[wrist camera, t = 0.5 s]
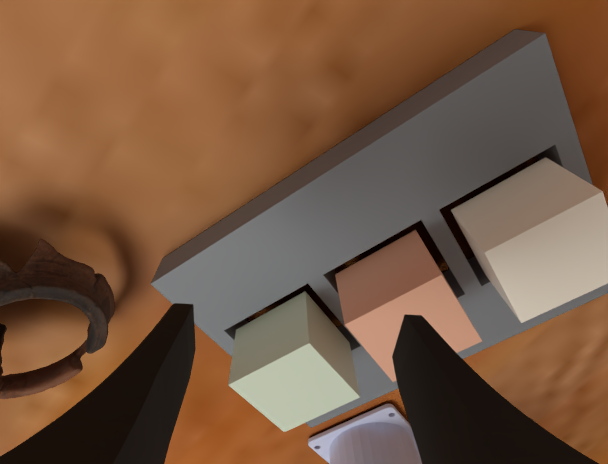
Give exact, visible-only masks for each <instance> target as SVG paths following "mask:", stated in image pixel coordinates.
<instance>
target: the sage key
mask: <svg viewBox="0 0 608 464" xmlns="http://www.w3.org/2000/svg"><path fill="white" fill-rule="evenodd" d="M228 385H229V386H230V387H231V388H232V389H234V390H235V391H236V392H237V393H238V394H240V395H241V396H242V397H243V398H244V399H245V400H247V401H248V402H249V403H250V404H251V405H253V406H254V407H255V408H256V409H257V410H259V411H260V412H261V413H262V414H263V415H264V416H266V417H267V418H268V419H269V420H270V421H272V422H273V423H274V424H275V425H276V426H278V427H279V428H280V429H281V430H282V431H283V432H286V431H288V430H290V429H292V428H294V427H297V426H299V425H301V424H303V423H305V422H308V421H310V420H312V419H314V418H316V417H318V416H321V415H323V414H325V413H327V412H329V411H331V410H334V409H336V408H338V407H340V406H342V405H345V404H347V403H349V402H351V401H353V400H355V399H358V398H360V394H359V389H358V383H357V378H356V373H355V368H354V363H353V358H352V353H351V348H350V342H349V341H348V340H347V339H346V338H345V337H344V335H343V334H342V333H341V332H340V331H339V330H338V328H337V327H336V326H335V325H334V324H333V323H332V322H331V320H330V319H329V318H328V317H327V316H326V315H325V313H324V312H323V311H322V310H321V309H320V308H319V306H318V305H317V304H316V303H315V302H314V301H313V300H312V298H311V297H310V296H309V295H308V294H307V293H306V291H305V292H303V293H301V294H299V295H297V296H296V297H294V298H292V299H290V300H288V301H287V302H285V303H283V304H281V305H279V306H278V307H276V308H274V309H272V310H270V311H269V312H267V313H265V314H263V315H261V316H260V317H258V318H256V319H254V320H252V321H251V322H249V323H247V324H245V325H244V326H242V327H240V328H238V329H236V334H235V341H234V348H233V355H232V362H231V369H230V376H229V383H228Z"/></svg>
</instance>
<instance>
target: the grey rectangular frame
mask: <svg viewBox="0 0 608 464" xmlns="http://www.w3.org/2000/svg"><path fill="white" fill-rule="evenodd" d="M536 155H537V157H538V159H539V161H540V160H541V159H543V158H545V157H546V158H548V159H550V160H551V161H553V162H555V163H556V164H558V165H560V166H561V167H563V168H565V169H566V170H568V171H570V172H571V173H573V174H575V175H576V176H578V177H580V178H581V179H583V180H585V181H586V182H588V183H590V184H591V185H593V184H592V180H591V177H590V174H589V171H588V168H587V164H586V161H585V158H584V155H583V152H582V148H581V145H580V142H579V139H578V136H577V132H576V129H575V126H574V123H573V120H572V116H571V113H570V110H569V107H568V104H567V100H566V97H565V94H564V91H563V88H562V84H561V81H560V78H559V75H558V72H557V68H556V65H555V62H554V59H553V56H552V52H551V49H550V46H549V43H548V40H547V36H546V33H541V32H533V31H525V30H517V29H514V30H513V31H511V32H510V33H508V34H507V35H505V36H504V37H502V38H501V39H499V40H498V41H496V42H494V43H493V44H491V45H490V46H488V47H487V48H485V49H484V50H482V51H481V52H479V53H478V54H476V55H474V56H473V57H471V58H470V59H468V60H467V61H465V62H464V63H462V64H461V65H459V66H458V67H456V68H454V69H453V70H451V71H450V72H448V73H447V74H445V75H444V76H442V77H441V78H439V79H438V80H436V81H434V82H433V83H431V84H430V85H428V86H427V87H425V88H424V89H422V90H421V91H419V92H418V93H416V94H414V95H413V96H411V97H410V98H408V99H407V100H405V101H404V102H402V103H401V104H399V105H398V106H396V107H395V108H393V109H391V110H390V111H388V112H387V113H385V114H384V115H382V116H381V117H379V118H378V119H376V120H375V121H373V122H371V123H370V124H368V125H367V126H365V127H364V128H362V129H361V130H359V131H358V132H356V133H355V134H353V135H351V136H350V137H348V138H347V139H345V140H344V141H342V142H341V143H339V144H338V145H336V146H335V147H333V148H331V149H330V150H328V151H327V152H325V153H324V154H322V155H321V156H319V157H318V158H316V159H315V160H313V161H311V162H310V163H308V164H307V165H305V166H304V167H302V168H301V169H299V170H298V171H296V172H295V173H293V174H291V175H290V176H288V177H287V178H285V179H284V180H282V181H281V182H279V183H278V184H276V185H275V186H273V187H271V188H270V189H268V190H267V191H265V192H264V193H262V194H261V195H259V196H258V197H256V198H255V199H253V200H251V201H250V202H248V203H247V204H245V205H244V206H242V207H241V208H239V209H238V210H236V211H235V212H233V213H232V214H230V215H228V216H227V217H225V218H224V219H222V220H221V221H219V222H218V223H216V224H215V225H213V226H212V227H210V228H208V229H207V230H205V231H204V232H202V233H201V234H199V235H198V236H196V237H195V238H193V239H192V240H190V241H188V242H187V243H185V244H184V245H182V246H181V247H179V248H178V249H176V250H175V251H173V252H172V253H170V254H168V255H167V256H165V257H164V258H162V261H161V263H160V265H159V267H158V269H157V271H156V273H155V276H154V278H153V280H152V282H151V285H152V286H153V287H155V288H156V289H157V290H158V291H159V292H160V293H161V294H162V295H163V296H165V297H166V298H167V299H168V300H169V301H170V302H171V303H172V304H174V303H181V304H193V306H194V323H195V324H196V325H197V326H198V327H199V328H200V329H201V330H202V331H204V332H205V333H206V334H207V335H208V336H209V337H210V338H211V339H213V340H214V341H215V342H216V343H217V344H218V345H219V346H220V347H221V348H223V349H224V350H225V351H226V352H227V353H228V354H229V355H230V356H232V355H233V348H234V341H235V334H236V329H238V328H240V327H242V326H244V325H245V324H247V323H248V322H247V321H246V320H245V319H246V318H247V317H249V316H251V315H253V314H254V313H256V312H258V311H260V310H262V309H263V308H265V307H267V306H269V305H270V304H272V303H274V302H276V301H278V300H279V299H281V298H283V297H285V296H286V295H288V294H290V293H292V292H294V291H295V290H297V289H299V288H301V287H302V286H304V285H306V284H309V285H310V287H311V288H312V289H313V290H314V291H315V292H316V294H317V295H318V296H319V297H320V298H321V299H322V301H323V302H324V303H325V304H326V305H327V307H328V308H329V309H330V310H331V311H332V312H333V314H334V315H335V316H336V317H337V318H338V320H339V321H340V322H341V323H342V324H343V325H341V326H339V327H337V328H338V330H339V331H340V332H341V333H342V334H343V335H344V337H345V338H346V339H347V340H348V341H349V342H350V348H351V353H352V358H353V363H354V368H355V373H356V378H357V383H358V389H359V394H360V398H358V399H355V400H353V401H351V402H349V403H347V404H345V405H342V406H340V407H338V408H336V409H334V410H331V411H329V412H327V413H325V414H323V415H321V416H318V417H316V418H314V419H312V420H310V421H308V422H305V423H306V424H307V425H309V426H310V427H311V428H312V427H314V426H316V425H318V424H320V423H323V422H325V421H327V420H329V419H331V418H334V417H336V416H338V415H340V414H342V413H345V412H347V411H349V410H351V409H354V408H356V407H358V406H360V405H362V404H365V403H367V402H369V401H371V400H373V399H376V398H378V397H380V396H382V395H384V394H387V393H389V392H391V391H393V390H395V389H398V385H397V381H395V382H392V380H391V379H390V378H389V377H388V376H387V374H386V373H385V372H384V371H383V370H382V369H381V367H380V366H379V365H378V364H377V363H376V361H375V360H374V359H373V358H372V357H371V355H370V354H369V353H368V352H367V351H366V350H365V348H364V347H363V346H362V345H361V344H360V342H359V341H358V340H357V339H356V338H355V337H354V335H353V334H352V333H351V332H350V331H349V329H348V328H347V327H346V326H345V324H344V319H343V314H342V309H341V303H340V298H339V293H338V288H337V282H336V277H335V274H337V272H336V271H335V270H334V269H335V268H336V267H338V266H340V265H342V264H343V263H345V262H347V261H349V260H351V259H352V258H354V257H356V256H358V255H359V254H361V253H363V252H365V251H367V250H368V249H370V248H372V247H374V246H375V245H377V244H379V243H381V242H383V241H384V240H386V239H388V238H390V237H391V236H393V235H395V234H397V233H399V232H400V231H402V230H404V229H406V228H408V227H409V226H411V225H413V224H415V223H416V222H418V221H420V220H421V222H422V223H423V225H424V227H425V228H426V230H427V232H428V233H429V235H430V237H431V238H432V240H433V242H434V243H435V245H436V247H437V249H438V250H439V252H440V254H441V255H442V257H443V259H444V260H445V262H446V264H447V265H448V267H449V270H447V271H445V272H443V273H442V274H443V275H444V277H445V279H446V280H447V282H448V284H449V285H450V287H451V289H452V290H453V292H454V294H455V295H456V297H457V299H458V300H459V302H460V304H461V306H462V307H463V309H464V311H465V312H466V314H467V316H468V317H469V319H470V321H471V323H472V324H473V326H474V328H475V329H476V331H477V333H478V335H479V336H480V338H481V340H482V342H479V343H477V344H475V345H473V346H471V347H469V348H466V349H464V350H462V351H460V352H458V353H457V354H458V355H459V356H460V357H461V358H462V359H464V358H466V357H468V356H470V355H472V354H475V353H477V352H479V351H481V350H484V349H486V348H488V347H490V346H492V345H495V344H497V343H499V342H501V341H503V340H506V339H508V338H510V337H512V336H514V335H517V334H519V333H521V332H523V331H525V330H528V329H530V328H532V327H534V326H536V325H539V324H541V323H543V322H545V321H547V320H550V319H552V318H554V317H556V316H558V315H561V314H563V313H565V312H567V311H569V310H572V309H574V308H576V307H578V306H580V305H583V304H585V303H587V302H589V301H591V300H594V299H596V298H598V297H600V296H602V295H605V294H607V293H608V284H606V285H603V286H601V287H599V288H597V289H595V290H593V291H590V292H588V293H586V294H584V295H582V296H579V297H577V298H575V299H573V300H571V301H569V302H566V303H564V304H562V305H560V306H558V307H556V308H553V309H551V310H549V311H547V312H545V313H542V314H540V315H538V316H536V317H534V318H532V319H529V320H527V321H525V322H523V323H521V322H520V321H519V320H518V318H517V317H516V315H515V314H514V313H513V311H512V310H511V309H510V307H509V306H508V305H507V303H506V302H505V301H504V299H503V298H502V297H501V295H500V294H499V292H498V291H497V290H496V288H495V287H494V286H493V284H492V283H491V282H490V280H489V279H488V278H487V276H486V275H485V273H484V271H483V269H482V268H481V266H480V264H479V262H478V260H477V258H476V257H475V256H474V257H472V258H470V259H468V260H467V259H466V257H465V256H464V254H463V252H462V250H461V248H460V247H459V245H458V243H457V241H456V239H455V238H454V236H453V234H452V232H451V230H450V229H449V227H448V225H447V223H446V221H445V220H444V218H443V216H442V214H441V212H440V211H439V210H440V209H441V208H443V207H445V206H447V205H448V204H450V203H452V202H454V201H456V200H457V199H459V198H461V197H463V196H464V195H466V194H468V193H470V192H472V191H473V190H475V189H477V188H479V187H481V186H482V185H484V184H486V183H488V182H489V181H491V180H493V179H495V178H497V177H498V176H500V175H502V174H504V173H505V172H507V171H509V170H511V169H513V168H514V167H516V166H518V165H520V164H521V163H523V162H525V161H527V160H529V159H530V158H532V157H534V156H536Z"/></svg>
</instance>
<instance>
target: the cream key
mask: <svg viewBox="0 0 608 464" xmlns="http://www.w3.org/2000/svg"><path fill="white" fill-rule="evenodd" d="M451 212H452V214H453V216H454V218H455V219H456V221H457V223H458V225H459V227H460V229H461V231H462V232H463V234H464V236H465V238H466V240H467V242H468V244H469V245H470V247H471V249H472V251H473V253H474V255H475V257H476V258H477V260H478V262H479V264H480V266H481V268H482V269H483V271H484V273H485V275H486V276H487V278H488V279H489V280H490V282H491V283H492V284H493V286H494V287H495V288H496V290H497V291H498V292H499V294H500V295H501V297H502V298H503V299H504V301H505V302H506V303H507V305H508V306H509V307H510V309H511V310H512V311H513V313H514V314H515V315H516V317H517V318H518V320H519V321H520V322H521V323H523V322H525V321H527V320H529V319H532V318H534V317H536V316H538V315H540V314H542V313H545V312H547V311H549V310H551V309H553V308H556V307H558V306H560V305H562V304H564V303H566V302H569V301H571V300H573V299H575V298H577V297H579V296H582V295H584V294H586V293H588V292H590V291H593V290H595V289H597V288H599V287H601V286H603V285H606V284H608V207H607V203H606V200H605V197H604V194H603V191H601V190H600V189H598V188H596V187H595V186H593V185H591V184H590V183H588V182H586V181H585V180H583V179H581V178H580V177H578V176H576V175H575V174H573V173H571V172H570V171H568V170H566V169H565V168H563V167H561V166H560V165H558V164H556V163H555V162H553V161H551V160H550V159H548V158H546V157H545V158H543V159H541V160H540V161H538V162H536V163H534V164H532V165H531V166H529V167H527V168H525V169H523V170H522V171H520V172H518V173H516V174H515V175H513V176H511V177H509V178H507V179H506V180H504V181H502V182H500V183H498V184H497V185H495V186H493V187H491V188H489V189H488V190H486V191H484V192H482V193H480V194H479V195H477V196H475V197H473V198H471V199H470V200H468V201H466V202H464V203H462V204H461V205H459V206H457V207H455V208H453V209H452V210H451Z"/></svg>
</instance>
